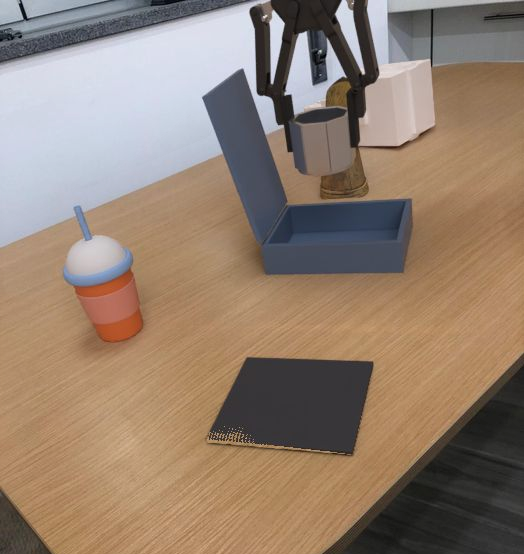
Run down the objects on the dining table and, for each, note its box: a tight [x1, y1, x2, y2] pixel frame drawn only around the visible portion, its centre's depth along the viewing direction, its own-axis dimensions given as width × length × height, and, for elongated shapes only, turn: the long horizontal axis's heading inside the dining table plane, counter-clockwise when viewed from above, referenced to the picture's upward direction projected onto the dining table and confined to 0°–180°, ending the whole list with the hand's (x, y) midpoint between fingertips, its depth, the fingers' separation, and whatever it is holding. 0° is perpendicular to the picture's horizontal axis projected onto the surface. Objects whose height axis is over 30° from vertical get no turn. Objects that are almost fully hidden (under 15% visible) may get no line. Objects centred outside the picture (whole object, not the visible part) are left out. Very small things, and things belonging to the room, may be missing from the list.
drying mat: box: [205, 356, 375, 455], centre depth 64 cm, size 15×14×1 cm
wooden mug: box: [319, 76, 369, 200], centre depth 107 cm, size 9×14×18 cm, turn 164°
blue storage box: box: [260, 197, 414, 276], centre depth 89 cm, size 20×15×5 cm
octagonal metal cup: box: [289, 106, 356, 177], centre depth 77 cm, size 8×8×6 cm
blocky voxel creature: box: [303, 58, 436, 147], centre depth 132 cm, size 15×25×28 cm
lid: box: [201, 67, 289, 244], centre depth 85 cm, size 20×15×1 cm
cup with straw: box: [62, 205, 144, 343], centre depth 78 cm, size 9×9×18 cm
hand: (323, 146), depth 78 cm, fingers closed on octagonal metal cup, 8 cm apart
